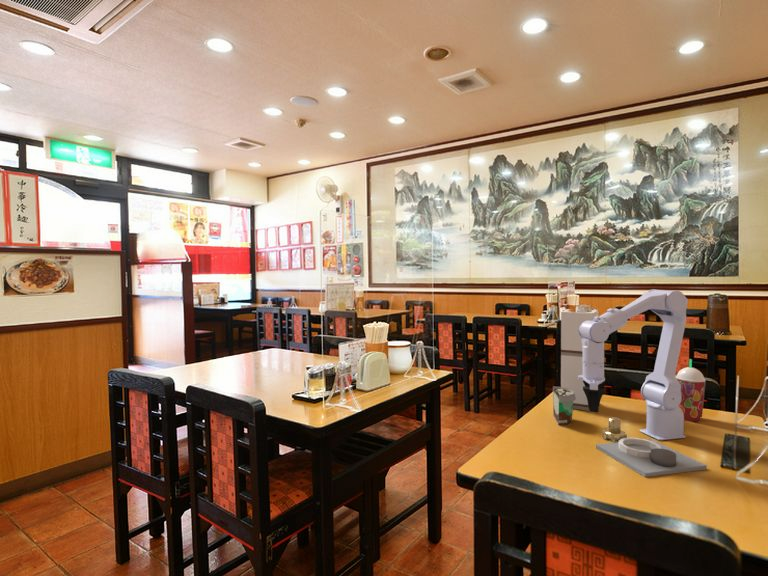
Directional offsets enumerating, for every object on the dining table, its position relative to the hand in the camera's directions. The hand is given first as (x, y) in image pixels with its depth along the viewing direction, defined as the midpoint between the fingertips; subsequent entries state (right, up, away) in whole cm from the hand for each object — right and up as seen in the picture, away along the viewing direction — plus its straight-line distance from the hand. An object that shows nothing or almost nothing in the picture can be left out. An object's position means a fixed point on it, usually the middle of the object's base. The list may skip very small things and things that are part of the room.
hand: (593, 407), depth 131 cm
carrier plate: (+9, -10, -11) cm, 18 cm away
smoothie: (+41, -9, +19) cm, 46 cm away
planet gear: (+8, -10, +3) cm, 13 cm away
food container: (-1, -9, +18) cm, 21 cm away
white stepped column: (+11, -8, +35) cm, 38 cm away
